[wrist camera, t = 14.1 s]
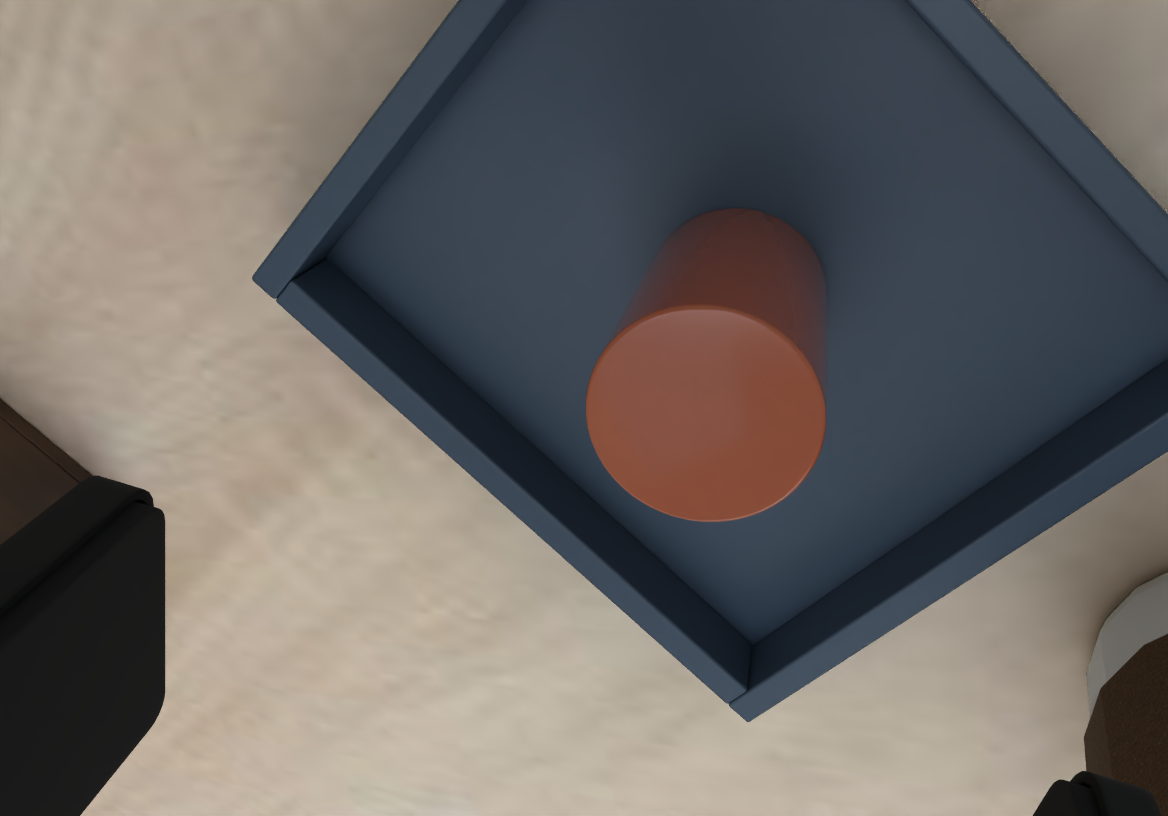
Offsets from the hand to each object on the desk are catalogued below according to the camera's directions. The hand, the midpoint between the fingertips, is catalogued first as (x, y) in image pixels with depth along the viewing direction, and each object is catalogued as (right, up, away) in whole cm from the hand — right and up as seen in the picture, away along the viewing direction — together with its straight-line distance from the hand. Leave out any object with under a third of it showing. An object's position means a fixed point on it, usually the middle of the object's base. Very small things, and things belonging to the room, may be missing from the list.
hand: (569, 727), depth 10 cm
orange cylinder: (+4, +6, +14) cm, 16 cm away
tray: (+4, +6, +14) cm, 16 cm away
